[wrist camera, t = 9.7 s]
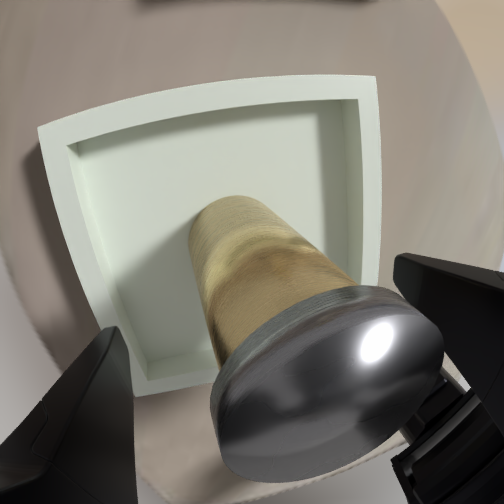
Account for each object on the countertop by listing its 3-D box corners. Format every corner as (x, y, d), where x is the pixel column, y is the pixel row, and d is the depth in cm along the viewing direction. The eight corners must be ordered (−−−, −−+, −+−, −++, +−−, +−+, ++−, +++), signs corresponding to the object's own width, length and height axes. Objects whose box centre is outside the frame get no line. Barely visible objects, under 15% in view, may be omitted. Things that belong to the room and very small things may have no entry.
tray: (354, 314, 18) (371, 333, 16) (136, 370, 16) (135, 397, 14) (350, 79, 12) (375, 76, 11) (55, 125, 10) (37, 127, 8)
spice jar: (303, 255, 15) (443, 398, 6) (215, 308, 15) (283, 497, 6) (258, 164, 13) (437, 257, 4) (156, 225, 12) (160, 427, 4)
